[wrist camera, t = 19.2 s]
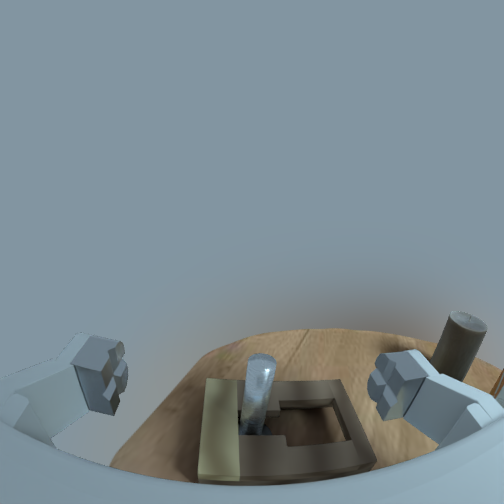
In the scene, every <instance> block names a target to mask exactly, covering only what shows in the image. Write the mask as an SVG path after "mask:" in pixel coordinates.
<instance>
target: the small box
mask: <svg viewBox="0 0 504 504" xmlns="http://www.w3.org/2000/svg"><path fill="white" fill-rule="evenodd" d="M489 394H490V395H492V396H493V398H494V399H495V400H496V401H497V402H498V403H499V404H500V405H501V406H502V408H503V409H504V369H503V371H502V373H501V374H500V376H499V378H498V380H497V382H496V383H495V385H494V387H493V388H492V390H491V392H490V393H489Z"/></svg>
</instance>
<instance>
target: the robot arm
mask: <svg viewBox="0 0 504 504" xmlns="http://www.w3.org/2000/svg"><path fill="white" fill-rule="evenodd" d="M124 354H125V350H124V345H123V343H122V342H121V341H117V340H112V339H108V338H103V337H98V336H94V335H89V334H85V333H77V334H76V335H75V336H74V338H73V339H72V340H71V341H70V342H69V344H68V345H67V346H66V347H65V348H64V350H63V351H62V352H61V354H60V355H59V356H58V357H57V358H56V360H54V359H50V360H47V361H44V362H42V363H39V364H37V365H34V366H32V367H29V368H27V369H24V370H21V371H18V372H16V373H13V374H10V375H8V376H5V377H2V378H0V504H504V409H503V408H502V406H501V405H500V404H499V403H498V402H497V401H496V400H495V399H494V398H493V396H492V395H490V394H488V393H485V392H483V391H481V390H478V389H476V388H474V387H472V386H469V385H467V384H465V383H462V382H460V381H458V380H456V379H453V378H451V377H449V376H447V375H445V374H439V373H438V372H437V370H436V369H435V368H434V367H433V366H432V365H431V364H430V363H429V361H428V360H427V359H426V358H425V357H424V356H423V355H422V354H421V353H420V352H419V351H418V350H415V349H414V350H407V351H403V352H394V353H383V354H380V355H379V356H378V357H377V359H376V361H375V366H376V369H375V370H374V371H373V372H372V373H371V374H370V376H369V379H368V384H367V390H368V394H369V396H370V398H371V399H372V400H373V401H375V402H377V406H376V409H377V411H378V413H379V414H380V416H381V418H382V420H383V421H387V420H392V419H398V418H402V417H404V418H403V419H405V420H406V421H407V422H409V423H410V424H411V425H413V426H414V427H416V428H417V429H418V430H420V431H421V432H422V433H424V434H425V435H427V436H428V437H429V438H431V439H432V440H434V441H435V442H436V443H438V444H439V446H438V447H437V448H436V449H435V451H433V452H430V453H428V454H425V455H422V456H419V457H417V458H414V459H411V460H408V461H405V462H402V463H398V464H395V465H392V466H388V467H385V468H381V469H377V470H373V471H369V472H365V473H361V474H356V475H351V476H346V477H341V478H335V479H329V480H323V481H315V482H307V483H298V484H286V485H268V486H228V485H210V484H198V483H189V482H181V481H173V480H167V479H161V478H155V477H150V476H145V475H140V474H136V473H131V472H127V471H123V470H119V469H115V468H112V467H108V466H105V465H101V464H98V463H95V462H91V461H88V460H86V459H83V458H80V457H77V456H74V455H72V454H69V453H66V452H64V451H61V450H59V449H56V447H55V446H54V444H53V443H52V441H51V438H52V437H54V436H55V435H56V434H58V433H59V432H61V431H62V430H64V429H65V428H67V427H68V426H69V425H71V424H72V423H74V422H75V421H76V420H78V419H79V418H81V417H82V416H84V415H85V414H86V413H88V412H89V410H91V411H95V412H99V413H103V414H108V415H112V416H114V415H115V412H116V410H117V407H118V405H119V403H120V399H119V394H121V393H122V392H124V390H125V388H126V385H127V380H128V368H127V364H126V362H125V361H124V360H123V359H122V357H123V355H124Z"/></svg>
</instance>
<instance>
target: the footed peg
mask: <svg viewBox="0 0 504 504" xmlns="http://www.w3.org/2000/svg"><path fill="white" fill-rule="evenodd" d="M275 369H276V360H275V359H274V358H273V357H272V356H270V355H267V354H262V353H259V354H254V355H252V356H250V357H249V359H248V366H247V374H246V381H245V389H244V397H243V405H242V412H241V420H240V421H238V435H272V433H271V431H270V429H269V428H268V427H267V426H266V425H265V424H264V421H265V416H266V412H267V407H268V403H269V398H270V393H271V388H272V383H273V379H274V374H275Z"/></svg>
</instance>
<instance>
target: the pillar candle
mask: <svg viewBox="0 0 504 504" xmlns="http://www.w3.org/2000/svg"><path fill="white" fill-rule="evenodd" d="M486 332H487V325H486V324H485V323H484V322H483V321H482V320H481V319H479V318H478V317H476V316H473V315H471V314H468V313H465V312H459V311H456V312H451V313H450V315H449V318H448V320H447V323H446V326H445V328H444V330H443V333H442V336H441V338H440V340H439V343H438V345H437V347H436V349H435V352H434V354H433V356H432V358H431V360H430V362H429V363H430V364H431V365H432V366H433V367H434V368H435V369H436V370H437V372H438V373H439V374H445V375H447V376H449V377H451V378H453V379H456V380H458V381H460V382H462V381H463V379H464V378H465V376H466V374H467V372H468V370H469V368H470V366H471V364H472V362H473V360H474V358H475V356H476V354H477V352H478V350H479V347H480V345H481V343H482V341H483V338H484V336H485V334H486Z"/></svg>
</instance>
